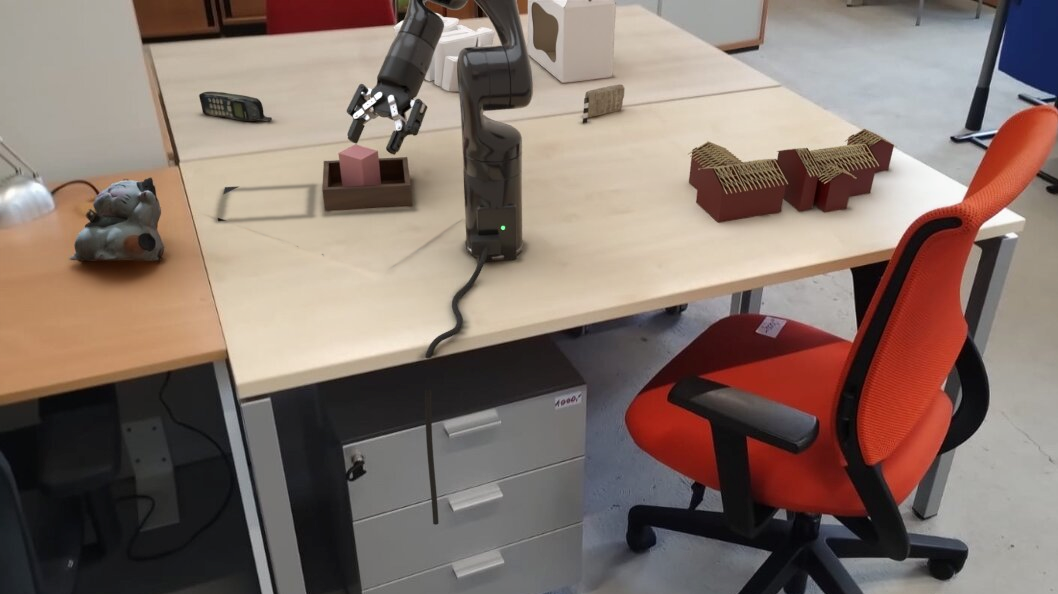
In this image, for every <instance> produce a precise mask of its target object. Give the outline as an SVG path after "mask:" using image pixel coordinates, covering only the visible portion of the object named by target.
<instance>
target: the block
mask: <svg viewBox="0 0 1058 594" xmlns="http://www.w3.org/2000/svg"><path fill="white" fill-rule="evenodd" d="M379 158H380V157H379V151H378V150H376V149H372V148H370V147H367V146H362V145H359V144H357V143H354V145H352V146H349V147H347V148H346V149H344V150H342V151H340V152H338V160H339V162H340V170H341V178H342V186H362V185H381V178H380V168H379Z"/></svg>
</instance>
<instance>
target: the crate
mask: <svg viewBox="0 0 1058 594" xmlns="http://www.w3.org/2000/svg"><path fill="white" fill-rule="evenodd" d="M408 159H409V158H408V156H402V157H379V168H380V178H381V185H362V186H342V178H341V170H340V162H339V159H337V160H335V159H333V160H323V167H322V189H321V190H322V197H323V205H324V211H325V212H333V211H349V210H350V211H353V210H368V209H370V210H371V209H385V208H402V207H413V199H412V197H413V196H412V185H411V176H410V169H409V168H410V167H409V160H408Z"/></svg>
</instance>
